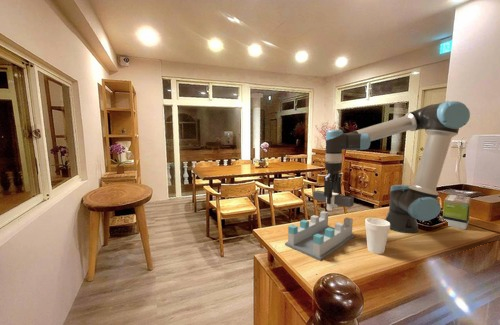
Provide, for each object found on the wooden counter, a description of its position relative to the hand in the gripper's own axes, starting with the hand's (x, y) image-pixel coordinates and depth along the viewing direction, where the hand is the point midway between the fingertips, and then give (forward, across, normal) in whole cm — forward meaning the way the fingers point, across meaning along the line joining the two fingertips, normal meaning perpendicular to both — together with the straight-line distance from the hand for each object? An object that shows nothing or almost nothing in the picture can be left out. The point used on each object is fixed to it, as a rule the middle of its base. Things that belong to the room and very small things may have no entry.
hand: (332, 208), depth 114 cm
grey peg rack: (+14, +9, 0) cm, 16 cm away
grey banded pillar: (-3, 0, 0) cm, 3 cm away
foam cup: (+14, 0, +21) cm, 25 cm away
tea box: (+15, -63, +40) cm, 76 cm away
